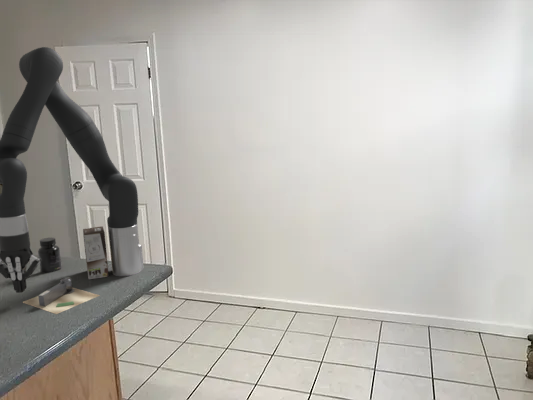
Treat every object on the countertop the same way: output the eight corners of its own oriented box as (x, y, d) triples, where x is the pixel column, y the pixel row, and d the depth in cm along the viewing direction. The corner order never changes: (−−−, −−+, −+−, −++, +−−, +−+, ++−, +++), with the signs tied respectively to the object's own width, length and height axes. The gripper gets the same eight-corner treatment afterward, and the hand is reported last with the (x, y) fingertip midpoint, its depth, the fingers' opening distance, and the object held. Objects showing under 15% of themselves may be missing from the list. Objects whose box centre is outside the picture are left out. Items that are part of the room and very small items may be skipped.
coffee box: (109, 280, 152) (104, 232, 149) (88, 283, 150) (83, 234, 147) (108, 271, 161) (103, 225, 157) (87, 274, 158) (82, 228, 155)
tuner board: (66, 290, 146) (65, 284, 145) (100, 300, 137) (99, 294, 137) (22, 307, 134) (21, 301, 134) (57, 319, 126) (56, 313, 125)
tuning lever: (65, 288, 142) (64, 277, 141) (74, 288, 141) (73, 277, 140) (37, 305, 130) (35, 293, 129) (47, 306, 129) (45, 294, 128)
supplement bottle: (36, 275, 159) (31, 240, 157) (53, 268, 165) (49, 235, 163) (49, 278, 156) (45, 243, 154) (67, 271, 162) (62, 237, 160)
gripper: (43, 227, 132) (50, 285, 135) (-5, 228, 131) (3, 287, 135) (31, 234, 124) (38, 296, 128) (-20, 235, 124) (-11, 297, 127)
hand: (20, 291), depth 131 cm, fingers closed
